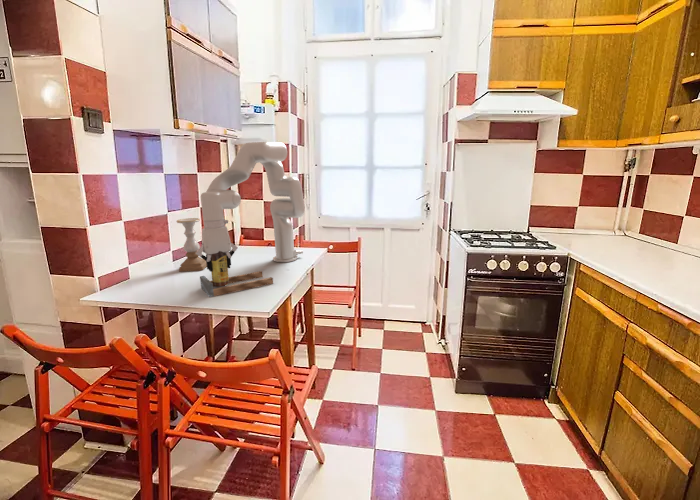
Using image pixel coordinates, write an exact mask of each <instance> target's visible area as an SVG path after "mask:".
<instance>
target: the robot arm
mask: <svg viewBox="0 0 700 500" xmlns="http://www.w3.org/2000/svg"><path fill="white" fill-rule="evenodd" d="M287 157H288V149H287V146H286V145H285V144H284V143H283V142H282V141H281V142H280V141H279V142H276V141H275V142H274V141H273V142H272V141H271V142H270V141H257V142H256V141H255V142H254V141H253V142H245V143H243V144H242V145H241V146H240V148H239V150H238V151H237V153H236V156H235V157H234V160H233V161H232V163H231V165H230V166H229V167H228V168H227V169H225V170H223V172H221V173H220V174H218V175H217V176H216V177H215V178H214V179H213V180H212V181H211V182H210V184H209V186H208V188H207V189H206V191H205V192H202V193H201V194H200V203H201V211H202V220H203V228H202V229H201V246H200V248H199V250H198V251H197V252H196V254H197V255H198V257H200V258H202V259H204V260H205V261H206V264H207V267H206V269H207V270H208V271H209V272H211V271H212V263H211V261H210V258H211V255H212V254H215V253H218V252H219V251H222V252H225V253H226V256H227V266H228V269H231V266H232V261H231V260H232V256H233V255H234V254H235V252H236V251H237V249H238V246H236V245H235V244H234V243H232V242H231V237H230V235H229V230H228V227H227V226H226V224H229V220H228V219H226V218H225V214H224V210H233V209H237V208H238V207H239V206H240V204H241V202H242V198H241V195H240V193H238V192H237V191H235V190H233V189H230V188H231V187H234V186H235V185H236V186H237V185H238V184H241V183H243V182H245V181H247V180H248V179H249V178H250V176H251V174H252V172H253V170H254V168H255V166H256V165H257V164H259V163H260V164H261V165H262V166H263V167H264V170H265V173H266V177H267V182H268V187H269V191H270V195H272V196H274V197H283V198H274V199H273V200H272V201H271V202H270V206H269V209H270V214H271V217H272V222H273V235H274V237H273V238H274V246H275V247H274V249H275V256H274V257H273V258H272V260H273V261H274V262H277V263H288V262H293V261H297V260H298V255H301V254H302V255H303V253H304V251H303V249H300V250H299V249H295V242H294V228H293V223H292V221H291V219H292V218H293V219H294V218H295V219H296V218H297V219H299V218H302V217H303V216H304V215H305V212H306V211H305V208H306V205H305V200H304V194H303V193H304V192H303V188H302V183H301V181H300V180H299V178H297V177H296V176H286V174H285V169H284V166H283V163H282V162H284V161H285V160H286V159H287ZM284 197H285V198H284ZM286 197H287V198H286ZM290 218H291V219H290ZM202 253H205V255H204V254H202Z"/></svg>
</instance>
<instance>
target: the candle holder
mask: <svg viewBox="0 0 700 500" xmlns="http://www.w3.org/2000/svg"><path fill="white" fill-rule="evenodd" d="M198 222H200V218H199V217H198V218H197V217H193V218H192V217H190V218H189V217H188V218H181V219H177V220H176V223H177V224H182V226H183V227H184V229H185V230H184V233H183V234H184V235H185V237H186V240H185V242H184V244H183V246H182V247H183V250H184V251H185V252H186V253H185V256H186V259H184V261H183V262H181V264H180V266H179V267H178V269H179V272H181V273H182V272H200V271H204V270H205V269H207V264H206V261H205V260H204V259H203V258H201V257H200V256H198V255H197V254H196V252H197V251H198V250H199V249H200V248H201V246H200V243H199V242H198V240H196V238H195V236H196V231H195V230H194V229H195V228H194V226H195V225H196V224H195V223H198Z"/></svg>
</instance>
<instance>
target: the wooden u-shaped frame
mask: <svg viewBox="0 0 700 500" xmlns="http://www.w3.org/2000/svg"><path fill="white" fill-rule="evenodd" d="M263 276H264V274H263V271H262V270H259V271H254V272H253V271H252V272H249V273H244V274H239V275H232V276H229V283H228V284H227V285H225V286H220V287H217V286H214V285H213V282H212V279H211V280H209V279H208V278H207V277H206V276H205V275H201V276H200V275H199V281H200V289H202V291H203V292H204V293H205V294H206V295H207V296H208V297H209V298H211V297H216V296H217V297H218V296H222V295H226V294H231V293H235V292H241V291H244V290H249V289H254V288H258V287H259V288H260V287H264V286H268V285H273V284H274V278H273V277H272V276H270V277H266V278H263ZM260 278H261V279H260ZM250 280H251V281H250ZM239 282H241V283H239ZM235 283H236V284H235ZM229 284H230V285H229Z"/></svg>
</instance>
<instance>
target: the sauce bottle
mask: <svg viewBox="0 0 700 500" xmlns="http://www.w3.org/2000/svg"><path fill="white" fill-rule="evenodd" d="M210 261H211V263H212V271H211V280H212V282H213V285H214V286H217V287H220V286H228V285H229V284H228V283H229V277H230V276H229V268H228V266H227V256H226V253H225V252H222V251H219V252H218V253H215V254H212V255H211V258H210Z"/></svg>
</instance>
